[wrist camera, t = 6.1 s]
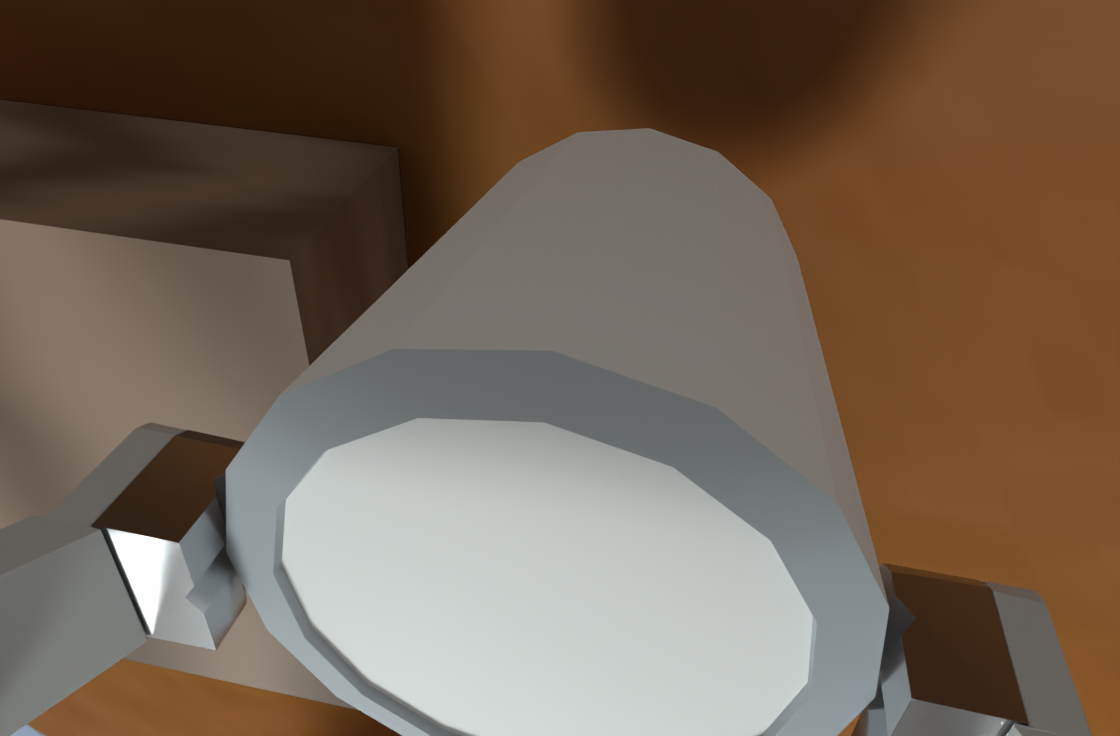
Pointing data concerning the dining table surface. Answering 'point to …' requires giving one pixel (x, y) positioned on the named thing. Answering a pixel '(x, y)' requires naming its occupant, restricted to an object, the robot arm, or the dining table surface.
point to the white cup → (574, 472)
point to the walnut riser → (175, 303)
